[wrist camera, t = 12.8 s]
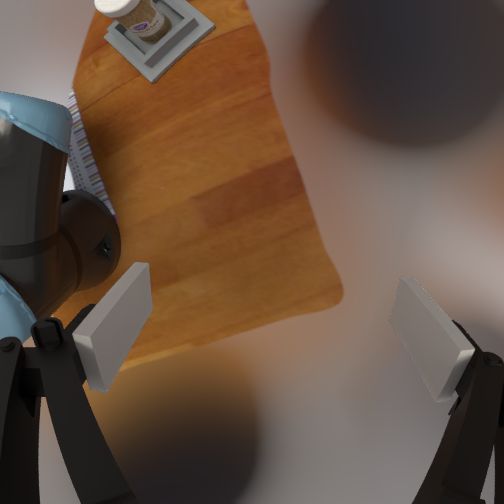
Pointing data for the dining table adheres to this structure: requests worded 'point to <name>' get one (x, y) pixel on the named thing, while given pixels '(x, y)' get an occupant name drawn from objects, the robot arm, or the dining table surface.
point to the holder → (170, 46)
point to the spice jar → (137, 17)
